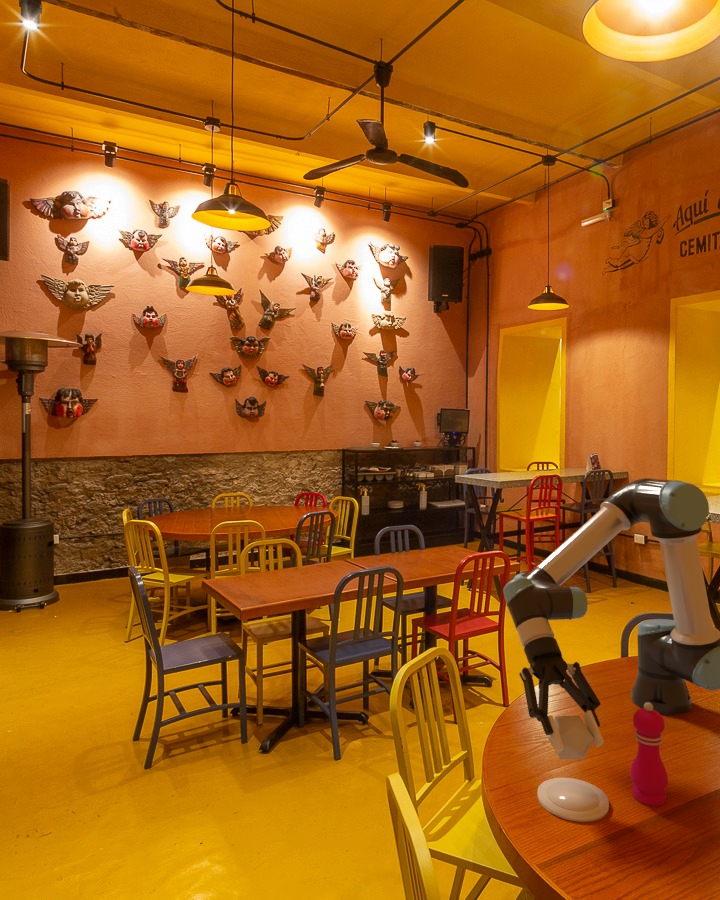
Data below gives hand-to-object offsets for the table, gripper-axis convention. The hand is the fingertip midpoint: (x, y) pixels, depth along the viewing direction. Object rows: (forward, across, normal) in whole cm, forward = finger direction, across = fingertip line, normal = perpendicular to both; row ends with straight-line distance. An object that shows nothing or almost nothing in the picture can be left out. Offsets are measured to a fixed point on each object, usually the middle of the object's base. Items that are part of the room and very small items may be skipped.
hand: (580, 747), depth 126 cm
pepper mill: (+9, -16, -10) cm, 21 cm away
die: (0, 0, -6) cm, 6 cm away
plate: (+7, 0, -12) cm, 14 cm away
